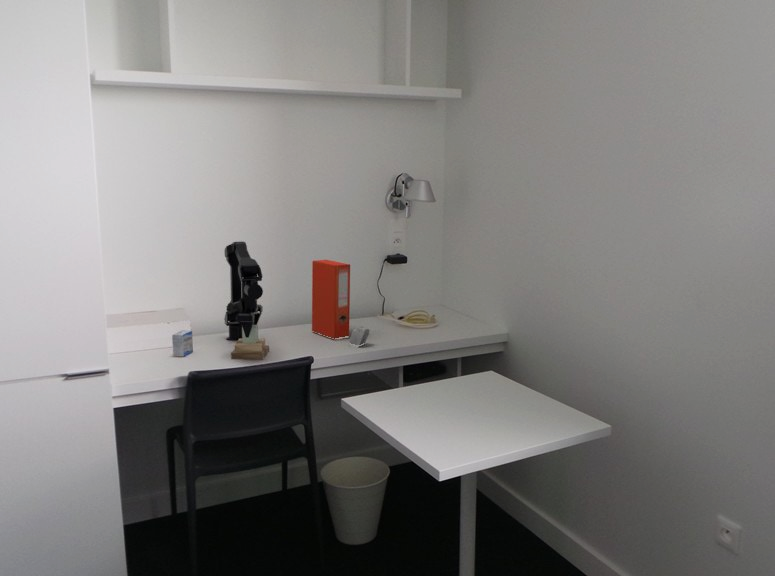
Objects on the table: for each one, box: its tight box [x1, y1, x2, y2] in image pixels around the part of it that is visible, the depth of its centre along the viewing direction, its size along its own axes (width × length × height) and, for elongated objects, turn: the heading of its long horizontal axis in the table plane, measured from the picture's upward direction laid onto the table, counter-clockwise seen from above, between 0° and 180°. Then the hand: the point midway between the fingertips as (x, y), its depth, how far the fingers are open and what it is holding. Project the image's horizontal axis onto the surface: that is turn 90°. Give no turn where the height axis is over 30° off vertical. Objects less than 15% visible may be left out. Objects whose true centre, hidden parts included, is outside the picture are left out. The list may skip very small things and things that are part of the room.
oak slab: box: [234, 338, 266, 353], centre depth 266 cm, size 10×10×3 cm
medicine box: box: [171, 329, 194, 358], centre depth 266 cm, size 8×4×9 cm, turn 168°
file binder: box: [311, 259, 351, 339], centre depth 297 cm, size 8×17×32 cm, turn 39°
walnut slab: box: [230, 345, 270, 361], centre depth 266 cm, size 12×12×3 cm
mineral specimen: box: [348, 326, 371, 345], centre depth 283 cm, size 7×9×8 cm
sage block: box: [242, 324, 259, 343], centre depth 265 cm, size 5×5×6 cm
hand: (250, 334), depth 265 cm, fingers open, 9 cm apart
